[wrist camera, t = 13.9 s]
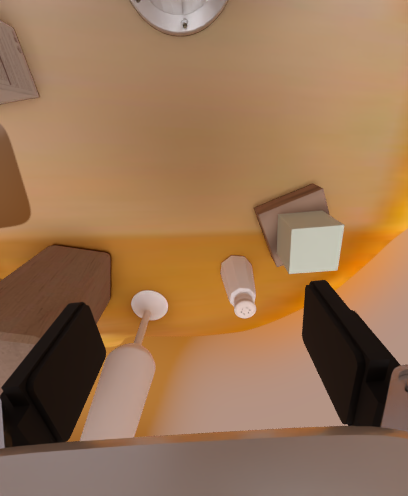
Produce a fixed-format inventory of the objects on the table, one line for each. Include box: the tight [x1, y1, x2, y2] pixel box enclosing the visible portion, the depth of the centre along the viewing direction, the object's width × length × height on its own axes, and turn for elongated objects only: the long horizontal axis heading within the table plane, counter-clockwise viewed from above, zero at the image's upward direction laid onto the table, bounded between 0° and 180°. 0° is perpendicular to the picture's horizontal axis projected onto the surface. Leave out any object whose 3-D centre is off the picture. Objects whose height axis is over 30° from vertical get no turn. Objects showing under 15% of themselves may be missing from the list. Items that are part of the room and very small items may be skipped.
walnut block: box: [254, 184, 329, 267], centre depth 37 cm, size 9×9×4 cm
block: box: [0, 245, 111, 395], centre depth 34 cm, size 10×10×20 cm
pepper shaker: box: [221, 256, 256, 318], centre depth 37 cm, size 5×5×11 cm
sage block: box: [277, 211, 344, 274], centre depth 33 cm, size 6×6×6 cm
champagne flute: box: [80, 290, 168, 441], centre depth 35 cm, size 7×7×24 cm
